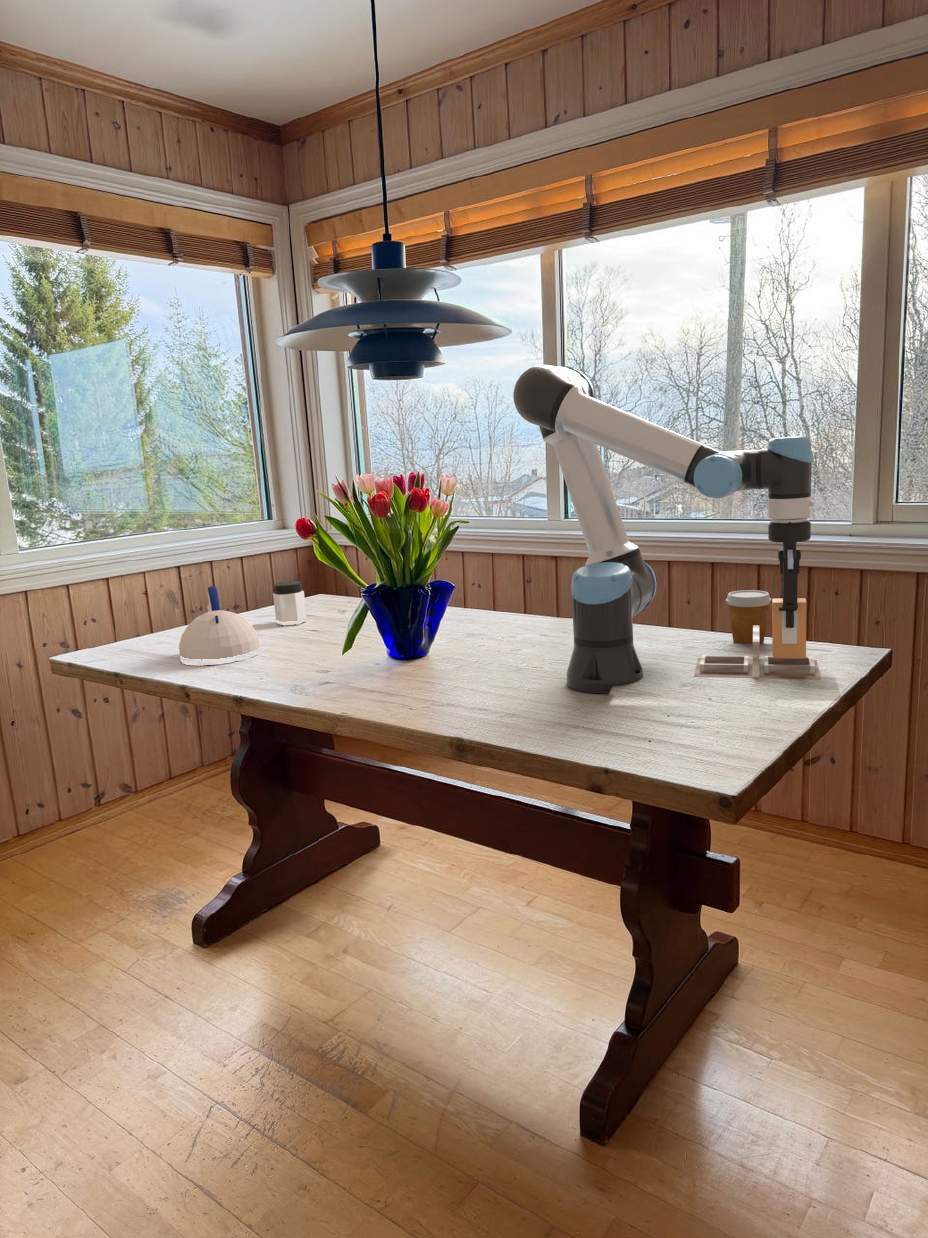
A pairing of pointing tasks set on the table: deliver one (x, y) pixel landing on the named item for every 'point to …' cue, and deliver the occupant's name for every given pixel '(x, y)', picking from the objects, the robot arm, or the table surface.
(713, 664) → the divided caddy with handle
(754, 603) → the disposable coffee cup
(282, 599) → the jar
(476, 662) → the table surface
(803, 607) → the block
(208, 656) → the beige dome cover
